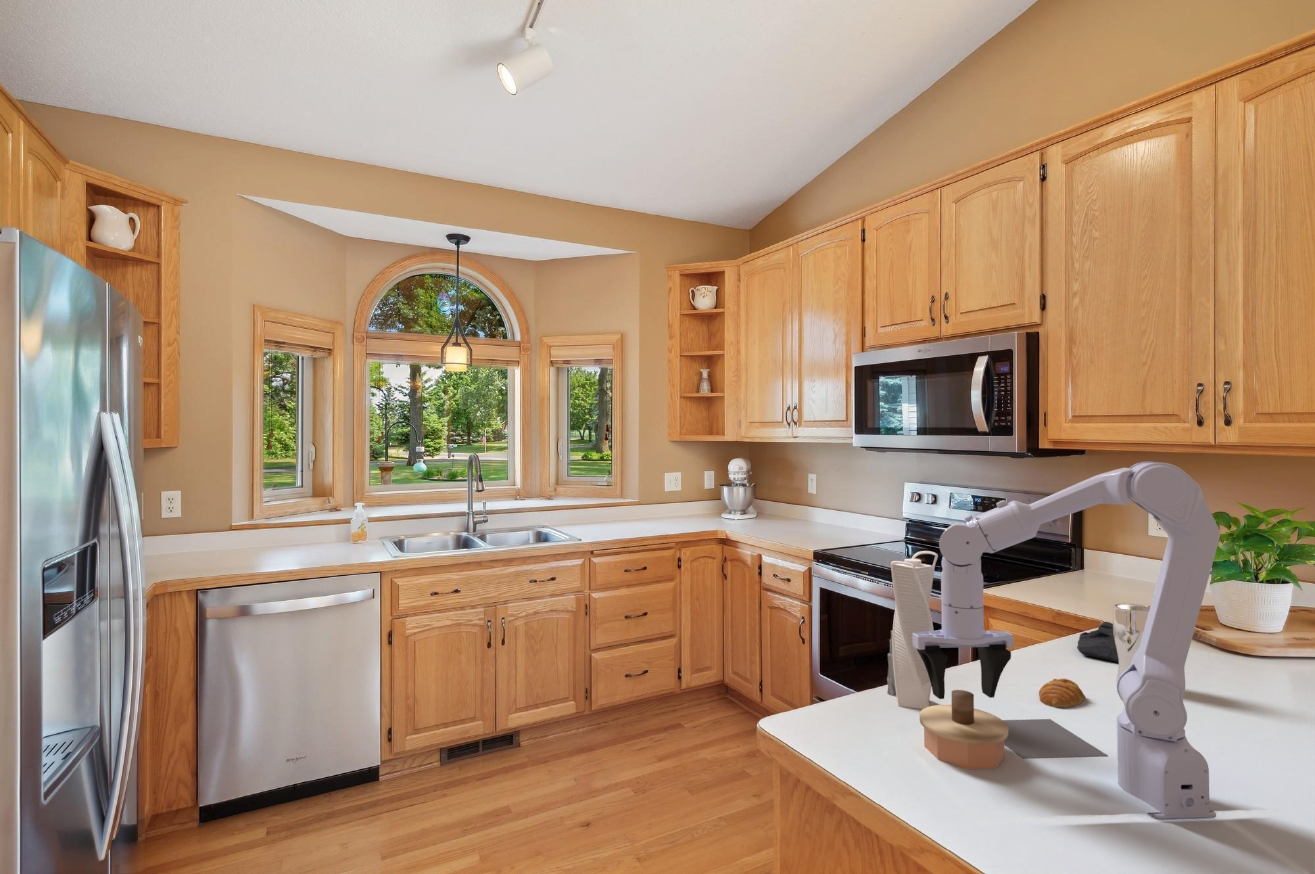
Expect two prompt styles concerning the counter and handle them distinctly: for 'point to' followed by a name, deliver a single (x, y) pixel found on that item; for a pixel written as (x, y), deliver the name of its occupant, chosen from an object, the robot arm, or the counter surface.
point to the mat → (1046, 740)
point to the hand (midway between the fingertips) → (963, 695)
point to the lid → (963, 721)
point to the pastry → (1061, 694)
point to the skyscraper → (910, 631)
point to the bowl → (964, 752)
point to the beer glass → (1128, 631)
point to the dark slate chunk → (1099, 643)
